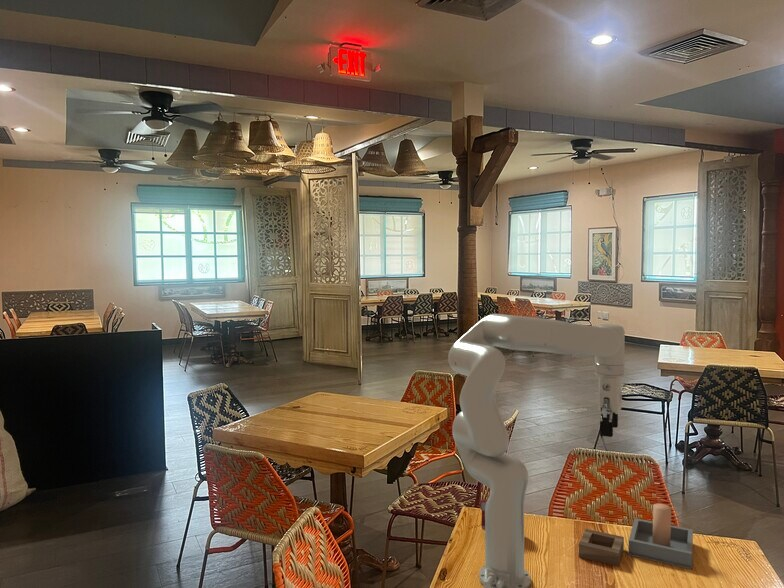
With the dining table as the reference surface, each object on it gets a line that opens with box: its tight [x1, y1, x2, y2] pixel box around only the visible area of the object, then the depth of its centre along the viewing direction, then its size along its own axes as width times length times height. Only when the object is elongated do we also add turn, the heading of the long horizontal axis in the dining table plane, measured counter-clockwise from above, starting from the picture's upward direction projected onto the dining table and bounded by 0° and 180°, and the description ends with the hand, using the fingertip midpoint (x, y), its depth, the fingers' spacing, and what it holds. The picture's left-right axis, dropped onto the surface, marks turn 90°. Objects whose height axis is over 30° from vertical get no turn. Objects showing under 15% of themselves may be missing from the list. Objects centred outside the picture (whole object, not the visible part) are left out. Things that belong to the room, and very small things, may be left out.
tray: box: [627, 517, 694, 570], centre depth 151 cm, size 15×15×4 cm
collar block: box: [578, 528, 625, 567], centre depth 149 cm, size 10×10×4 cm
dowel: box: [652, 503, 672, 547], centre depth 151 cm, size 4×4×11 cm
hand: (609, 431), depth 152 cm, fingers open, 9 cm apart
